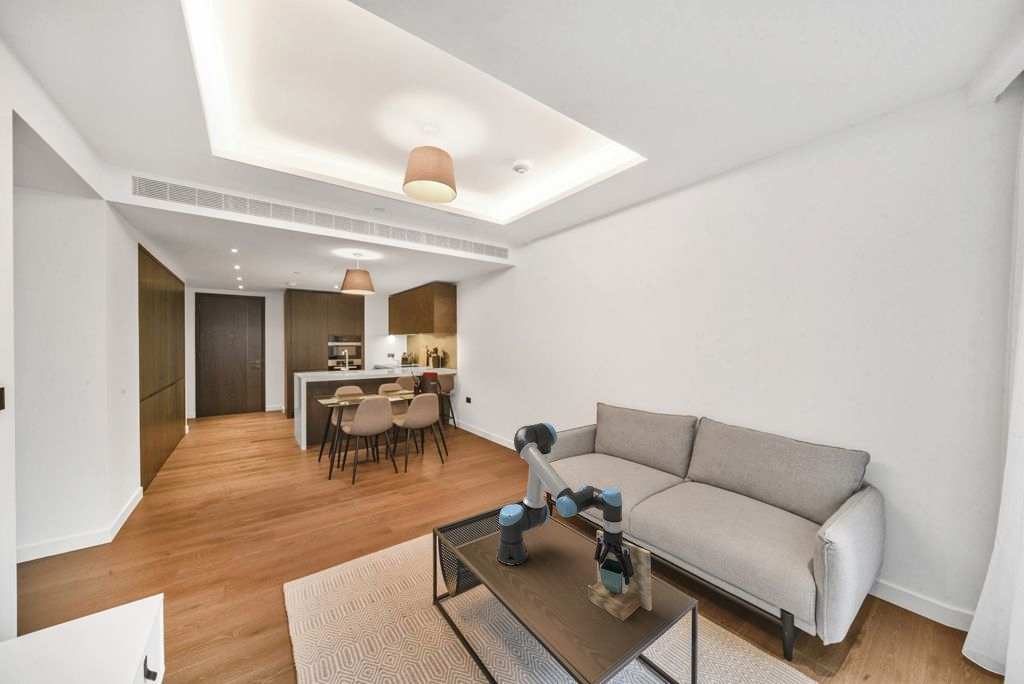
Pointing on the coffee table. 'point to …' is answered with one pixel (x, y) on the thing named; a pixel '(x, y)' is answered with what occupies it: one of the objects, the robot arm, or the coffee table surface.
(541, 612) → the coffee table surface
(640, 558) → the board
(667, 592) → the coffee table surface
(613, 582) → the flower pot
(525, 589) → the coffee table surface
